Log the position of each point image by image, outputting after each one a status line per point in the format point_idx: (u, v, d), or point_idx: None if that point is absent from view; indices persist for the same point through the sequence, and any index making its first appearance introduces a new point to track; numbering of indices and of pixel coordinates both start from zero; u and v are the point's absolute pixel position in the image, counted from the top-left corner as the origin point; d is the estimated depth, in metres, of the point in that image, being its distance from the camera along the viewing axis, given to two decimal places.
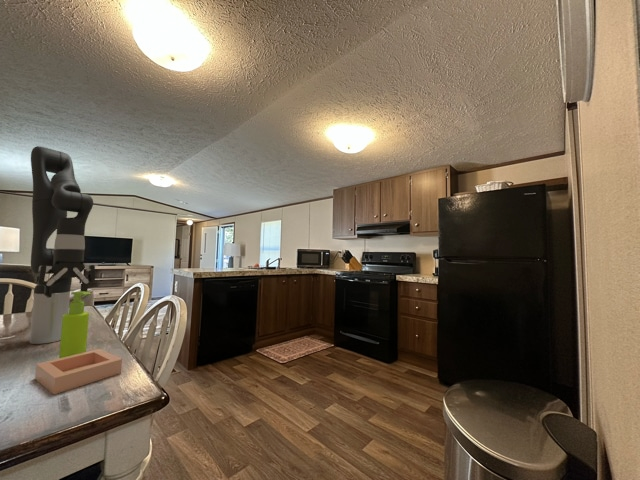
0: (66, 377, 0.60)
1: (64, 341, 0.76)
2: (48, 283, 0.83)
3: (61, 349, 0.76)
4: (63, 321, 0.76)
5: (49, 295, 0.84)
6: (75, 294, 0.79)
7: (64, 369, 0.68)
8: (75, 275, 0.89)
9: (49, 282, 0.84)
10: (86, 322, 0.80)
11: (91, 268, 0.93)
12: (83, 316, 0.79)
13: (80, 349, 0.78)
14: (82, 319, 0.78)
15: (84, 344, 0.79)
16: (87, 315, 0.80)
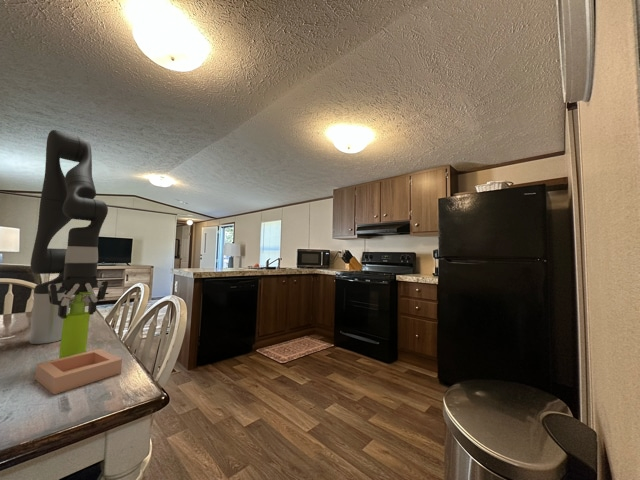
0: (66, 377, 0.60)
1: (64, 341, 0.76)
2: (63, 303, 0.75)
3: (61, 349, 0.76)
4: (64, 321, 0.77)
5: (63, 316, 0.76)
6: None
7: (64, 369, 0.68)
8: (85, 291, 0.80)
9: (64, 302, 0.76)
10: (86, 322, 0.80)
11: (104, 284, 0.84)
12: (84, 316, 0.79)
13: (80, 349, 0.78)
14: (82, 318, 0.78)
15: (84, 344, 0.79)
16: (88, 315, 0.80)
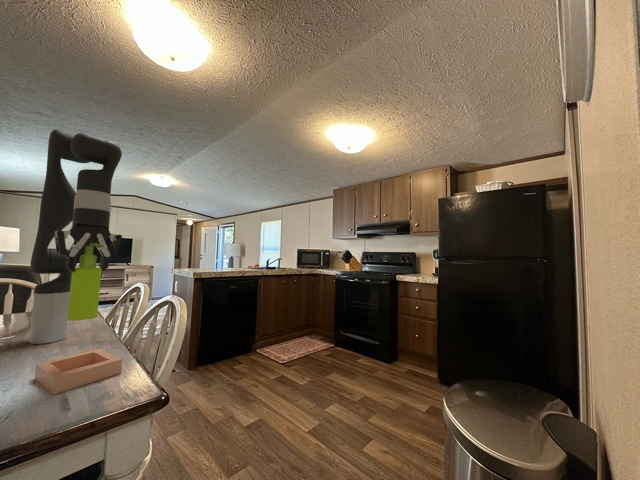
0: (66, 377, 0.60)
1: (73, 297, 0.66)
2: (71, 253, 0.65)
3: (70, 306, 0.66)
4: (73, 274, 0.67)
5: (72, 269, 0.66)
6: None
7: (64, 369, 0.68)
8: None
9: (73, 252, 0.66)
10: (98, 278, 0.70)
11: (117, 238, 0.74)
12: (95, 270, 0.69)
13: (91, 308, 0.68)
14: (94, 273, 0.68)
15: (96, 303, 0.69)
16: (100, 270, 0.70)
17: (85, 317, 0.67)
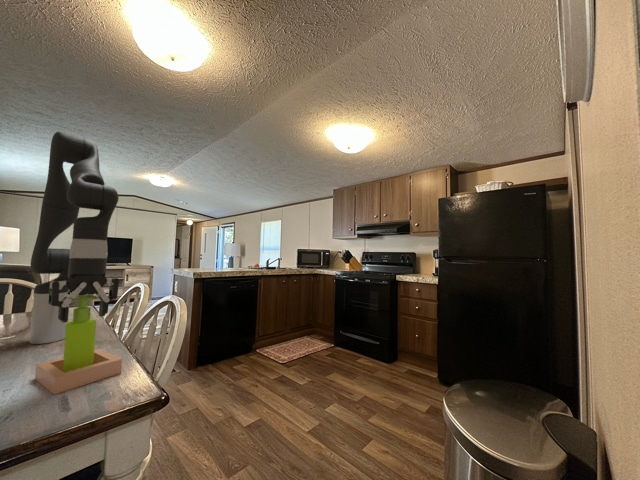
0: (66, 377, 0.60)
1: (68, 353, 0.65)
2: (64, 304, 0.64)
3: (65, 363, 0.65)
4: (66, 330, 0.66)
5: (65, 319, 0.64)
6: (80, 298, 0.68)
7: None
8: (94, 291, 0.69)
9: (65, 303, 0.64)
10: (93, 330, 0.69)
11: (114, 282, 0.73)
12: (89, 324, 0.68)
13: (87, 362, 0.67)
14: (88, 327, 0.67)
15: (91, 356, 0.68)
16: (94, 322, 0.69)
17: None
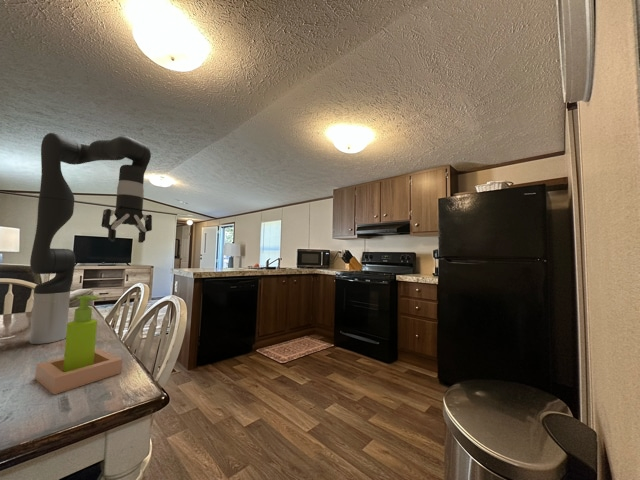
0: (66, 377, 0.60)
1: (68, 354, 0.65)
2: (112, 227, 0.85)
3: (65, 363, 0.65)
4: (67, 330, 0.66)
5: (113, 239, 0.85)
6: (81, 299, 0.68)
7: None
8: (135, 222, 0.90)
9: (113, 226, 0.85)
10: (94, 331, 0.69)
11: (148, 218, 0.94)
12: (91, 324, 0.68)
13: (87, 363, 0.67)
14: (89, 327, 0.67)
15: (92, 357, 0.68)
16: (95, 323, 0.69)
17: None
